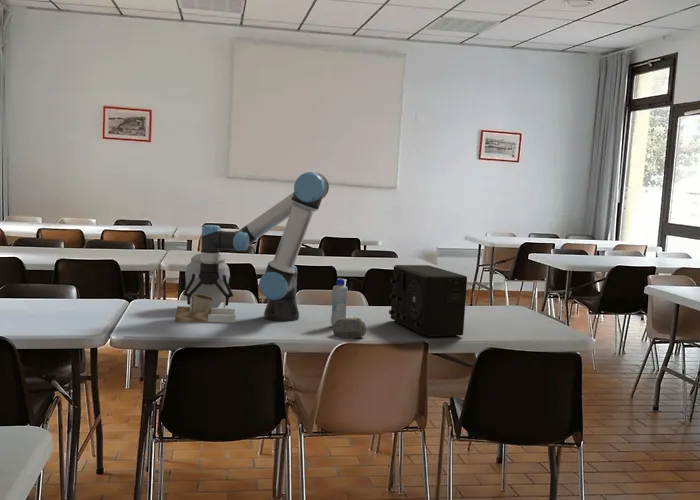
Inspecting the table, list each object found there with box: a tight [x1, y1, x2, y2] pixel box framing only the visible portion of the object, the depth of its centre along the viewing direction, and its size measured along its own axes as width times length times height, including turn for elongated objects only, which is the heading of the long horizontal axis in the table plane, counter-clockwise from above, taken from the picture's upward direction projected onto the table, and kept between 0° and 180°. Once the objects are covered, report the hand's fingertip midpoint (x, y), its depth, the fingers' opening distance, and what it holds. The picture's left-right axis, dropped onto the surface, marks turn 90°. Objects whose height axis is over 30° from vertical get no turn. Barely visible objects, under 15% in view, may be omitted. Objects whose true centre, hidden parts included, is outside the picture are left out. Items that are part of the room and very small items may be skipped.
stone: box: [332, 317, 367, 339], centre depth 273 cm, size 12×8×8 cm, turn 71°
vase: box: [184, 253, 231, 308], centre depth 311 cm, size 20×20×24 cm
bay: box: [207, 307, 236, 323], centre depth 294 cm, size 11×15×3 cm
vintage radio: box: [388, 264, 468, 339], centre depth 295 cm, size 38×20×25 cm, turn 20°
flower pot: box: [192, 294, 214, 313], centre depth 292 cm, size 9×9×9 cm
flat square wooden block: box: [174, 305, 211, 323], centre depth 291 cm, size 14×14×4 cm
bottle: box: [330, 278, 349, 328], centre depth 289 cm, size 7×7×20 cm
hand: (207, 313), depth 292 cm, fingers open, 13 cm apart
